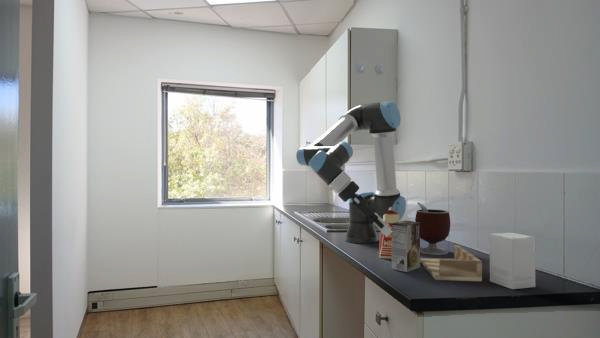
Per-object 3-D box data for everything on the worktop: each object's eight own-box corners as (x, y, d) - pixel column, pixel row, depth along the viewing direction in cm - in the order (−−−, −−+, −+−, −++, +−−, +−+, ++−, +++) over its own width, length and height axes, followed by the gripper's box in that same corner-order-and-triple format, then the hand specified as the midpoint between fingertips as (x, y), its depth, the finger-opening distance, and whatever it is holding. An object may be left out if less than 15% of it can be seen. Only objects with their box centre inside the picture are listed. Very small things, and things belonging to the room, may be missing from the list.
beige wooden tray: (420, 261, 144) (420, 244, 144) (458, 262, 143) (458, 245, 143) (435, 279, 120) (435, 260, 120) (482, 281, 119) (482, 261, 119)
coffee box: (404, 264, 139) (404, 220, 139) (420, 267, 135) (420, 221, 135) (390, 269, 133) (390, 222, 133) (407, 272, 128) (407, 224, 128)
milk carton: (403, 259, 147) (403, 207, 147) (378, 258, 149) (378, 206, 149) (401, 254, 156) (402, 205, 156) (378, 253, 158) (378, 204, 157)
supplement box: (536, 287, 113) (537, 236, 113) (512, 290, 110) (512, 238, 110) (511, 278, 121) (511, 231, 121) (488, 281, 119) (488, 233, 119)
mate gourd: (457, 253, 157) (457, 204, 157) (432, 256, 151) (432, 206, 151) (429, 246, 171) (429, 201, 171) (405, 249, 165) (405, 202, 165)
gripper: (337, 192, 148) (376, 232, 146) (336, 197, 123) (383, 245, 122) (351, 178, 147) (391, 218, 146) (352, 180, 123) (400, 229, 121)
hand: (387, 230), depth 134 cm, fingers open, 13 cm apart
